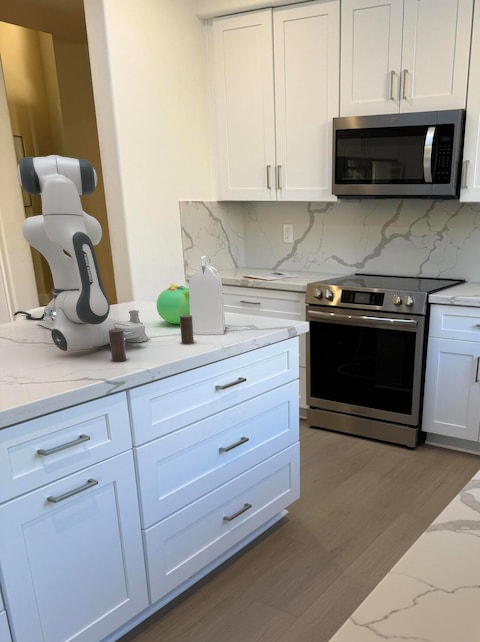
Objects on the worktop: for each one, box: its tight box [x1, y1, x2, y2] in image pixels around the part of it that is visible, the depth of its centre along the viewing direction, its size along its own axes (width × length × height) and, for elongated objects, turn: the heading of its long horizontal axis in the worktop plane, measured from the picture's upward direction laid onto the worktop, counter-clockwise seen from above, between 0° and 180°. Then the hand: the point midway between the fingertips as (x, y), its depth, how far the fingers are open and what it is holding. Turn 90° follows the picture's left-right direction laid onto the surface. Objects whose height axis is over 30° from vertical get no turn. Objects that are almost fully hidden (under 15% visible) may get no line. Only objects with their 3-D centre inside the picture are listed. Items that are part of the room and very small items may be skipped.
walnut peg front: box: [109, 329, 127, 363], centre depth 180 cm, size 4×4×9 cm
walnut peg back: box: [179, 315, 195, 345], centre depth 202 cm, size 4×4×9 cm
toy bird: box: [156, 283, 190, 325], centre depth 230 cm, size 18×17×15 cm
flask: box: [125, 309, 149, 343], centre depth 203 cm, size 7×7×10 cm
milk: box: [188, 255, 226, 335], centre depth 216 cm, size 12×12×26 cm
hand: (137, 323), depth 204 cm, fingers closed on flask, 3 cm apart
